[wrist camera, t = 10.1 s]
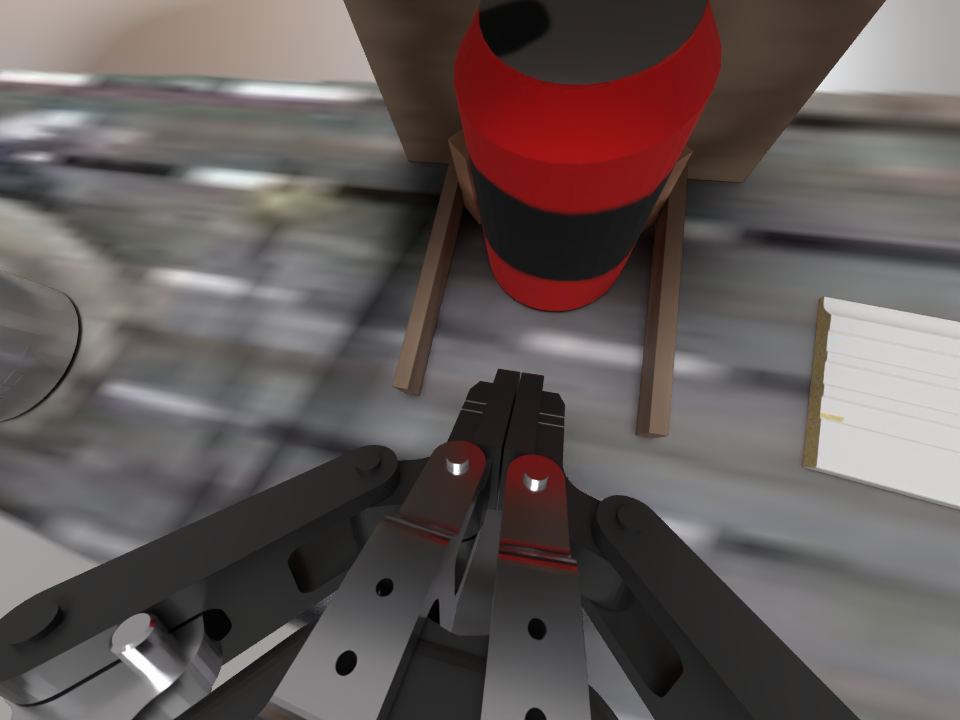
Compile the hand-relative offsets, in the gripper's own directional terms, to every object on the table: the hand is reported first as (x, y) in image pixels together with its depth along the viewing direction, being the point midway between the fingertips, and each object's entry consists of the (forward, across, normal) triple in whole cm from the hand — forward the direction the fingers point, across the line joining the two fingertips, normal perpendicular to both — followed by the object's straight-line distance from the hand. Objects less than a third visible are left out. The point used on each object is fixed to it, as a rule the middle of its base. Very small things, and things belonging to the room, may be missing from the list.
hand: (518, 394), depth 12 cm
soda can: (+12, 0, -2) cm, 12 cm away
